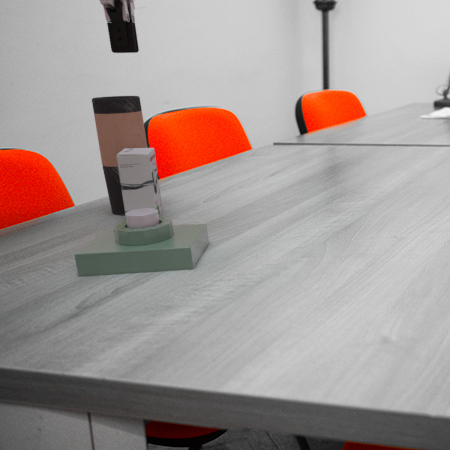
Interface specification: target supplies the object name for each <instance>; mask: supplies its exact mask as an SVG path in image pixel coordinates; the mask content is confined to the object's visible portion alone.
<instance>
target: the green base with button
mask: <svg viewBox="0 0 450 450" xmlns="http://www.w3.org/2000/svg"><path fill="white" fill-rule="evenodd" d="M159 222H160V224H158V225H155V226H152V227H146V228H135V229H132V228H127V222H126V220H124V221H122V222H119V223H117V224H116V225H114V227H113V228H107V229H104V230H103V231H101V232H100V233H99V234H98V235H97V236H95V237H94V238H93V239H92V240H90V241H89V242H88V243H87V244H85V245H84V246H83V247H82V248H81V249H79V250H78V251H76V252H75V253H74V255H73V256H74V260H75V265H76V266H75V267H76V270H77V276H78V277H88V276H89V277H91V276H93V277H95V276H106V275H107V276H108V275H123V274H125V275H126V274H137V273H140V274H141V273H155V272H170V271H186V270H185V269H187V270H194V269H193V268H195V267H196V265H197V264H198V262H199V260H200V258H201V257H202V255H203V253H204V252H205V250H206V248H207V246H208V245H209V243H210V239H209V232H208V224H207V223H193V224H192V223H191V224H176V225H175V224H174V225H173V221H172V219H171V218H170V217H166V216H161V217H159ZM196 263H197V264H196Z"/></svg>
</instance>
